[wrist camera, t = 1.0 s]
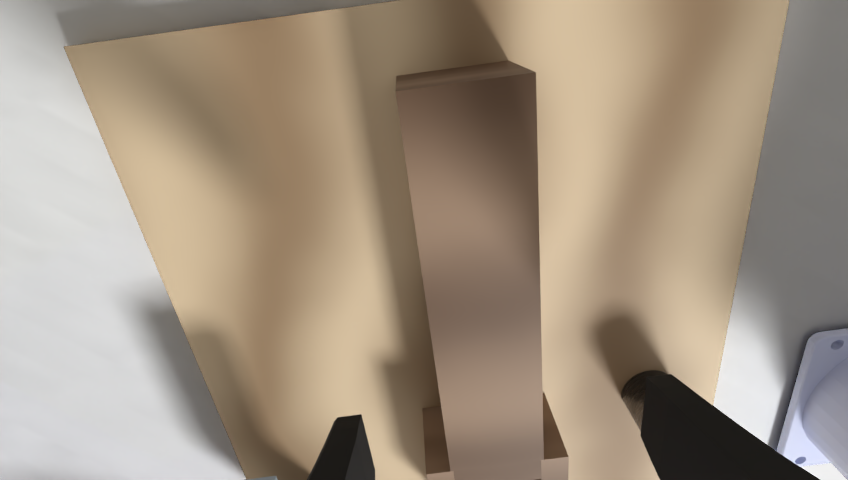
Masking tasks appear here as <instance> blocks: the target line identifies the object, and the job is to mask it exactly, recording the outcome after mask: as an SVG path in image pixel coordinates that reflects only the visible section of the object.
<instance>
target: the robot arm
mask: <svg viewBox="0 0 848 480" xmlns="http://www.w3.org/2000/svg"><path fill="white" fill-rule="evenodd" d="M640 436H641V438H642V441H643V443H644V445H645V448H646V450H647V452H648V455H649V457H650V459H651V462H652V464H653V466H654V468H655V470H656V472H657V475H658V477H659V479H660V480H820V479H818V478H817V477H815V476H813V475H812V474H810V473H809V472H807V471H806V470H804V469H803V468H801V466H809V465H817V464H825V463H832V464H833V465H834V466H835V467H836V468H837V469H838V470H839V471H840V473H841V474H842V475H843V476H844V477H845V478H846V479H847V480H848V328H846V329H838V330H831V331H823V332H818V333H815V334H814V335H812V336H811V337H810V338H809V339H808V341H807V344H806V348H805V351H804V355H803V358H802V362H801V365H800V369H799V372H798V376H797V379H796V383H795V387H794V390H793V394H792V397H791V401H790V404H789V408H788V411H787V415H786V418H785V422H784V425H783V429H782V433H781V436H780V440H779V443H778V447H777V450H776V451H775V450H774V449H772V448H771V447H769V446H768V445H767V444H765V443H764V442H762V441H761V440H759V439H758V438H756V437H755V436H754V435H752V434H751V433H749V432H748V431H747V430H745V429H744V428H742V427H741V426H740V425H738V424H737V423H736V422H734V421H733V420H732V419H730V418H729V417H727V416H726V415H725V414H723V413H722V412H721V411H719V410H718V409H717V408H715V407H714V406H713V405H711V404H710V403H709V402H707V401H706V400H705V399H703V398H702V397H701V396H700V395H698V394H697V393H696V392H694V391H693V390H692V389H690V388H689V387H688V386H686V385H685V384H684V383H682V382H681V381H680V380H678V379H677V378H676V377H674V376H673V375H672V374H667V375H659V376H651V377H647V378H646V387H645V397H644V406H643V416H642V425H641V435H640ZM307 480H375V467H374V463H373V459H372V455H371V451H370V447H369V443H368V439H367V435H366V431H365V427H364V423H363V419H362V415H361V414H359V415H352V416H344V417H337V419H336V420H335V421H334V423H333V425H332V427H331V430H330V432H329V434H328V437H327V439H326V441H325V443H324V446H323V448H322V450H321V452H320V454H319V456H318V458H317V460H316V463H315V465H314V467H313V469H312V471H311V473H310V474H309V476H308V478H307Z"/></svg>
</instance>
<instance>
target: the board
mask: <svg viewBox="0 0 848 480" xmlns="http://www.w3.org/2000/svg"><path fill="white" fill-rule="evenodd" d="M788 5H789V0H397V1H390V2H383V3H376V4H368V5H361V6H354V7H347V8H339V9H332V10H325V11H318V12H311V13H303V14H296V15H289V16H282V17H275V18H267V19H260V20H253V21H246V22H238V23H231V24H224V25H217V26H210V27H202V28H195V29H188V30H181V31H173V32H166V33H159V34H152V35H145V36H137V37H130V38H123V39H116V40H109V41H101V42H94V43H87V44H80V45H72V46H65V47H64V49H65V51H66V54H67V56H68V58H69V61H70V63H71V66H72V68H73V70H74V73H75V75H76V77H77V80H78V82H79V84H80V87H81V89H82V92H83V94H84V96H85V99H86V101H87V103H88V106H89V108H90V110H91V113H92V115H93V118H94V120H95V122H96V125H97V127H98V129H99V132H100V134H101V136H102V139H103V141H104V144H105V146H106V148H107V151H108V153H109V155H110V158H111V160H112V162H113V165H114V167H115V170H116V172H117V174H118V177H119V179H120V181H121V184H122V186H123V189H124V191H125V193H126V196H127V198H128V200H129V203H130V205H131V207H132V210H133V212H134V215H135V217H136V219H137V222H138V224H139V226H140V229H141V231H142V233H143V236H144V238H145V241H146V243H147V245H148V248H149V250H150V252H151V255H152V257H153V259H154V262H155V264H156V267H157V269H158V271H159V274H160V276H161V278H162V281H163V283H164V285H165V288H166V290H167V293H168V295H169V297H170V300H171V302H172V304H173V307H174V309H175V311H176V314H177V316H178V319H179V321H180V323H181V326H182V328H183V330H184V333H185V335H186V337H187V340H188V342H189V345H190V347H191V349H192V352H193V354H194V356H195V359H196V361H197V363H198V366H199V368H200V371H201V373H202V375H203V378H204V380H205V382H206V385H207V387H208V389H209V392H210V394H211V397H212V399H213V401H214V404H215V406H216V408H217V411H218V413H219V415H220V418H221V420H222V423H223V425H224V427H225V430H226V432H227V434H228V437H229V439H230V441H231V444H232V446H233V449H234V451H235V453H236V456H237V458H238V460H239V463H240V465H241V467H242V470H243V472H244V475H245V477H246V479H254V478H262V477H270V476H276V477H277V479H278V480H307V478H308V476H309V474H310V473H311V471H312V469H313V467H314V465H315V463H316V460H317V458H318V456H319V454H320V452H321V450H322V448H323V446H324V443H325V441H326V439H327V437H328V434H329V432H330V430H331V427H332V425H333V423H334V421H335V420H336V419H337V417H344V416H352V415H359V414H361V415H362V419H363V423H364V427H365V431H366V435H367V439H368V443H369V447H370V451H371V455H372V459H373V463H374V467H375V480H427V477H426V465H425V447H424V429H423V411H422V408H429V407H437V406H441V402H440V395H439V388H438V381H437V374H436V367H435V360H434V354H433V347H432V340H431V333H430V326H429V319H428V312H427V305H426V299H425V292H424V285H423V278H422V271H421V264H420V257H419V250H418V244H417V237H416V230H415V223H414V216H413V209H412V202H411V195H410V188H409V182H408V175H407V168H406V161H405V154H404V147H403V140H402V133H401V127H400V120H399V113H398V106H397V99H396V92H395V90H396V76H398V75H406V74H413V73H420V72H428V71H435V70H442V69H450V68H457V67H464V66H472V65H479V64H486V63H494V62H501V61H508V60H509V61H511V62H513V63H516V64H518V65H520V66H523V67H525V68H527V69H530V70H532V71H534V72H536V97H537V146H538V195H539V244H540V294H541V343H542V392H543V393H545V396H546V398H547V401H548V404H549V406H550V409H551V412H552V414H553V417H554V419H555V422H556V425H557V427H558V430H559V433H560V435H561V438H562V441H563V443H564V446H565V448H566V451H567V454H568V456H569V468H568V480H660V479H659V477H658V475H657V472H656V470H655V468H654V466H653V464H652V462H651V459H650V457H649V455H648V452H647V450H646V448H645V445H644V443H643V441H642V438H641V436H640V435H641V432H640V430H639V428H638V426H637V425H636V423H635V421H634V419H633V418H632V416H631V414H630V412H629V411H628V409H627V407H626V405H625V404H624V402H623V400H622V396H621V394H622V389H623V387H624V385H625V384H626V383H627V381H628V380H629V379H631V378H632V377H633V376H635V375H637V374H639V373H641V372H644V371H649V370H657V371H662V372H664V373H666V374H672V375H673V376H674V377H676V378H677V379H678V380H680V381H681V382H682V383H684V384H685V385H686V386H688V387H689V388H690V389H692V390H693V391H694V392H696V393H697V394H698V395H700V396H701V397H702V398H703V399H705V400H706V401H707V402H709V403H710V404H711V405H713V402H714V397H715V392H716V387H717V381H718V376H719V371H720V365H721V360H722V355H723V350H724V344H725V339H726V334H727V328H728V323H729V318H730V312H731V307H732V302H733V297H734V291H735V286H736V281H737V275H738V270H739V265H740V260H741V254H742V249H743V244H744V238H745V233H746V228H747V222H748V217H749V212H750V207H751V201H752V196H753V191H754V185H755V180H756V175H757V170H758V164H759V159H760V154H761V148H762V143H763V138H764V132H765V127H766V122H767V117H768V111H769V106H770V101H771V95H772V90H773V85H774V80H775V74H776V69H777V64H778V58H779V53H780V48H781V42H782V37H783V32H784V27H785V21H786V16H787V11H788Z"/></svg>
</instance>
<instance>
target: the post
mask: <svg viewBox="0 0 848 480" xmlns="http://www.w3.org/2000/svg"><path fill="white" fill-rule="evenodd" d="M659 375H667V374H666V373H664V372H662V371H657V370H649V371H644V372H641V373H639V374H637V375H635V376H633V377H632V378H631V379H629V380H628V381H627V383H626V384H625V385H624V387H623V389H622V394H621V396H622V400H623V402H624V404H625V405H626V407H627V409H628V411H629V412H630V414H631V416H632V418H633V419H634V421H635V423H636V425H637V426H638V428H639V430H640V432H641V425H642V416H643V406H644V397H645V387H646V378H647V377H651V376H659Z"/></svg>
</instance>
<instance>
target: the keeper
mask: <svg viewBox="0 0 848 480" xmlns="http://www.w3.org/2000/svg"><path fill="white" fill-rule="evenodd" d="M246 480H278V479H277V477H276V476H270V477H262V478H254V479H246Z"/></svg>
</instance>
